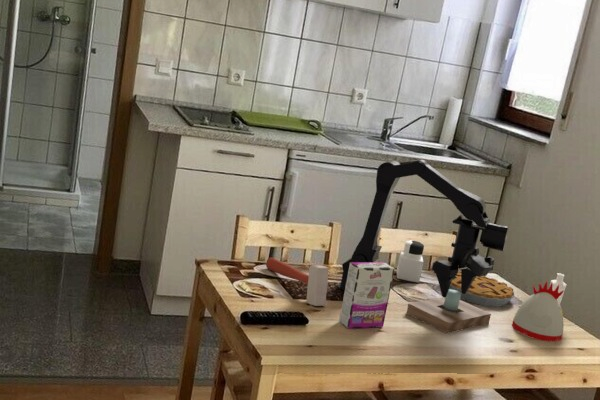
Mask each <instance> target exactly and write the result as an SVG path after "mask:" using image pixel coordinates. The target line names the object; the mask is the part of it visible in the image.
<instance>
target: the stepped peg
mask: <svg viewBox="0 0 600 400" xmlns="http://www.w3.org/2000/svg"><path fill="white" fill-rule="evenodd" d="M460 297H461V292H459V291H456V290H452V289H449V291H448V293H447V296H446V297H445V301H444V305H443V308H444V310H446V311H448V312H450V313H452V314H453V313H455V312H456V311H458V306H459V301H460V300H461V298H460Z"/></svg>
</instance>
